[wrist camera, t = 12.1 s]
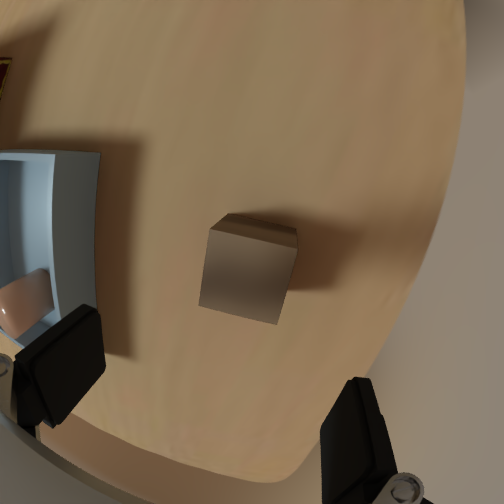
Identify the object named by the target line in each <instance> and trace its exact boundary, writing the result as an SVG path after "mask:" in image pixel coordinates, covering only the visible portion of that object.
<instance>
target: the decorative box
mask: <svg viewBox="0 0 504 504" xmlns="http://www.w3.org/2000/svg"><path fill="white" fill-rule="evenodd" d="M11 61H12V58H6V57H0V100H1V96H2V92H3V88H4V84H5V81H6V77H7V74H8V71H9V68H10V65H11Z"/></svg>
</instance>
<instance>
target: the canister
mask: <svg viewBox="0 0 504 504" xmlns="http://www.w3.org/2000/svg"><path fill="white" fill-rule="evenodd" d="M53 310H55V306H54V300H53V293H52V286H51V277H50V274H49V273H48V272H47V271H46V270H44V269H42V268H37V269H35V270H33V271H32V272H30V273H28V274H26V275H24V276H22V277H21V278H19V279H17V280H15V281H13V282H12V283H10V284H8V285H6V286H5V287H3V288H1V289H0V326H1V327H2V329H3V330H4V331H5V333H6V334H7V335H8V336H10V337H11V338H13V339H17V338H18V337H19V336H20V335H22V334H23V333H24V332H25V331H27V330H28V329H29V328H31V327H32V326H33V325H34V324H36V323H37V322H38V321H40V320H41V319H42V318H44V317H45V316H46V315H48V314H49V313H50V312H52V311H53Z"/></svg>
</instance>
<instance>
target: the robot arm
mask: <svg viewBox="0 0 504 504" xmlns="http://www.w3.org/2000/svg"><path fill="white" fill-rule="evenodd" d="M15 359H16V360H15V361H14V362H13V361H12V359H11V358H10V357H9V356H8V355H6V354H2V353H0V504H154V503H152V502H149V501H147V500H144V499H142V498H139V497H137V496H134V495H132V494H130V493H127V492H125V491H123V490H121V489H118V488H116V487H114V486H112V485H110V484H108V483H106V482H104V481H102V480H100V479H98V478H96V477H95V476H93V475H91V474H89V473H87V472H86V471H84V470H82V469H81V468H78V467H77V466H75V465H74V464H72V463H71V462H69V461H67V460H66V459H64V458H63V457H61V456H60V455H58V454H56V453H55V452H54V451H52V450H51V449H49V448H48V447H46V446H45V445H44V444H42V443H41V438H40V427H39V424H40V423H41V422H42V421H43V422H44V423H45V424H47V425H48V426H50V427H51V428H54V427H55V426H56V425H59V424H61V423H62V422H63V421H64V420H65V418H66V417H67V416H68V415H69V413H70V412H71V411H72V410H73V409H74V407H75V406H76V405H77V404H78V403H79V401H80V400H81V399H82V398H83V396H84V395H85V394H86V393H87V392H88V391H89V389H90V388H91V387H92V386H93V385H94V383H95V382H96V381H97V380H98V379H99V377H100V376H101V375H102V374H103V373H104V371H105V368H106V362H105V355H104V347H103V338H102V328H101V317H100V314H99V313H98V311H97V309H96V308H94V307H92V306H89V305H87V304H81V305H80V306H79V307H77V308H76V309H75V310H73V311H72V312H70V313H69V314H68V315H66V316H65V317H64V318H62V319H61V320H60V321H58V322H57V323H56V324H54V325H53V326H52V327H50V328H49V329H48V330H47V331H45V332H44V333H43V334H41V335H40V336H39V337H38V338H36V339H35V340H34V341H32V342H31V343H30V344H29V345H27V346H26V347H25V348H24V349H22V350H21V351H20V352H19V353H17V354H16V355H15ZM320 443H321V444H320V445H321V470H322V471H321V473H322V504H433V503H432V502H430V501H428V500H427V499H425V498H423V495H424V486H423V484H422V482H421V480H420V479H419V478H418V477H416V476H415V475H413V474H410V473H405V472H403V473H398V471H397V466H396V462H395V459H394V455H393V450H392V446H391V442H390V438H389V435H388V431H387V427H386V424H385V420H384V417H383V415H381V413H380V410H379V406H378V403H377V399H376V396H375V393H374V389H373V386H372V383H371V380H370V379H369V378H362V377H354V378H353V379H352V380H348V381H347V382H346V384H345V386H344V388H343V390H342V391H341V393H340V395H339V397H338V398H337V400H336V402H335V404H334V405H333V407H332V409H331V410H330V412H329V414H328V415H327V417H326V419H325V420H324V422H323V423H322V425H321V429H320Z"/></svg>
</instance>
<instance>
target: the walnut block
mask: <svg viewBox="0 0 504 504" xmlns="http://www.w3.org/2000/svg"><path fill="white" fill-rule="evenodd" d="M297 252H298V243H297V233H296V229H294V228H290V227H286V226H281V225H277V224H273V223H268V222H264V221H260V220H255V219H251V218H246V217H242V216H237V215H233V214H227V215H226V216H225V217H223V218H222V219H221V220H220V221H219V222H217V223H216V224H215V225H214V226H213V227H211V228H210V230H209V237H208V243H207V249H206V256H205V263H204V270H203V277H202V284H201V291H200V299H199V306H202V307H205V308H209V309H213V310H217V311H221V312H225V313H228V314H232V315H236V316H240V317H245V318H249V319H253V320H257V321H262V322H266V323H270V324H275V325H277V323H278V320H279V316H280V313H281V309H282V306H283V303H284V299H285V296H286V292H287V288H288V285H289V281H290V278H291V274H292V270H293V267H294V263H295V259H296V256H297Z"/></svg>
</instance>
